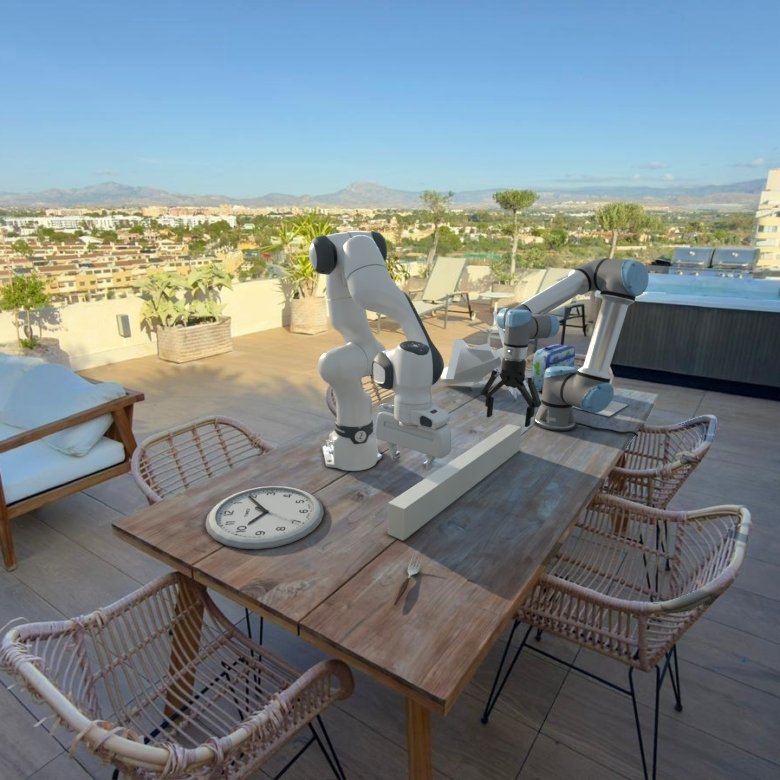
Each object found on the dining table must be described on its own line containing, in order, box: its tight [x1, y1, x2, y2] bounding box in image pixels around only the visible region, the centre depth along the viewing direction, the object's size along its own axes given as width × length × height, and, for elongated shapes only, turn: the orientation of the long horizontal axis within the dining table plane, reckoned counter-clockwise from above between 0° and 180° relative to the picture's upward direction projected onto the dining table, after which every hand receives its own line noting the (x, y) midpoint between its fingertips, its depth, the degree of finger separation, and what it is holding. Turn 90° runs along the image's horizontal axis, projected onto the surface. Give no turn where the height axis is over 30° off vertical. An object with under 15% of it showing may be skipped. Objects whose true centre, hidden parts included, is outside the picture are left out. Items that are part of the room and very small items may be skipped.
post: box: [387, 423, 522, 541], centre depth 154 cm, size 69×5×9 cm, turn 143°
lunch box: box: [531, 343, 576, 392], centre depth 248 cm, size 26×11×21 cm, turn 134°
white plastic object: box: [440, 310, 530, 400], centre depth 245 cm, size 37×45×31 cm
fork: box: [393, 553, 424, 606], centre depth 112 cm, size 3×16×2 cm, turn 160°
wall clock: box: [205, 485, 325, 550], centre depth 137 cm, size 30×2×30 cm
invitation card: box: [573, 400, 629, 418], centre depth 226 cm, size 21×1×15 cm
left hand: (410, 464), depth 128 cm, fingers open, 8 cm apart
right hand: (507, 421), depth 173 cm, fingers open, 13 cm apart
